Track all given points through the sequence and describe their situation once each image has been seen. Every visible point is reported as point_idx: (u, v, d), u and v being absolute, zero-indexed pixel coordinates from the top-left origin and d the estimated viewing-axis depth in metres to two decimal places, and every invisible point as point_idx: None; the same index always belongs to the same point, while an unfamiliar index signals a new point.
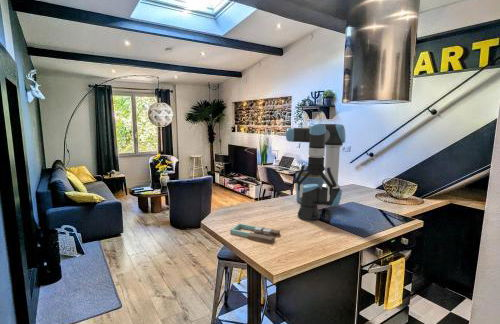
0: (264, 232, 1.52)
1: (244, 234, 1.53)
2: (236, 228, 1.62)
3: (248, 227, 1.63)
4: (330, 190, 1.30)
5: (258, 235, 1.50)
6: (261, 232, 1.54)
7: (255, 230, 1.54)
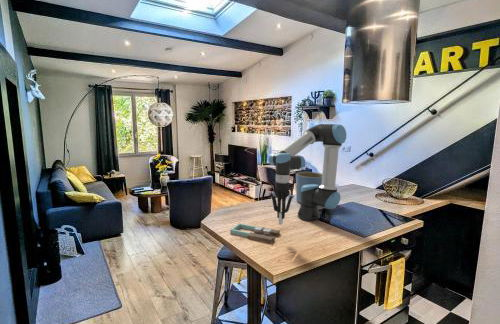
0: (264, 232, 1.52)
1: (244, 234, 1.53)
2: (236, 228, 1.62)
3: (248, 227, 1.63)
4: (282, 215, 1.47)
5: (258, 235, 1.50)
6: (261, 232, 1.54)
7: (255, 230, 1.54)
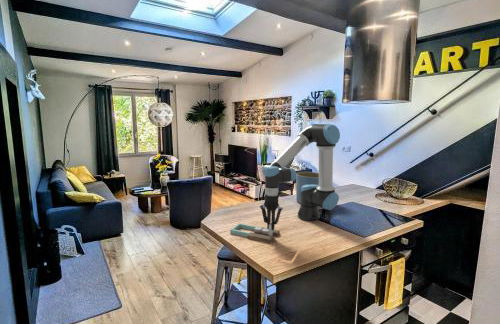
0: (263, 232, 1.52)
1: (244, 234, 1.53)
2: (236, 228, 1.62)
3: (248, 227, 1.63)
4: (272, 226, 1.50)
5: (258, 235, 1.50)
6: (261, 232, 1.54)
7: (255, 230, 1.54)
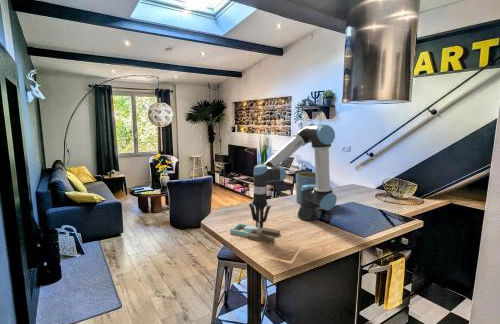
0: (252, 230, 1.55)
1: (244, 234, 1.53)
2: (236, 228, 1.62)
3: None
4: (261, 224, 1.53)
5: (258, 235, 1.50)
6: None
7: (245, 229, 1.56)
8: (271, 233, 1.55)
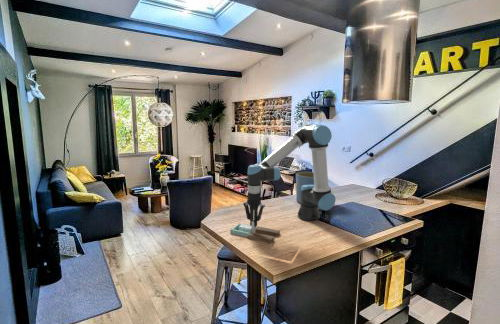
0: (246, 229, 1.56)
1: (244, 234, 1.53)
2: (236, 228, 1.62)
3: None
4: (255, 223, 1.55)
5: (258, 235, 1.50)
6: None
7: (240, 228, 1.58)
8: (271, 233, 1.55)
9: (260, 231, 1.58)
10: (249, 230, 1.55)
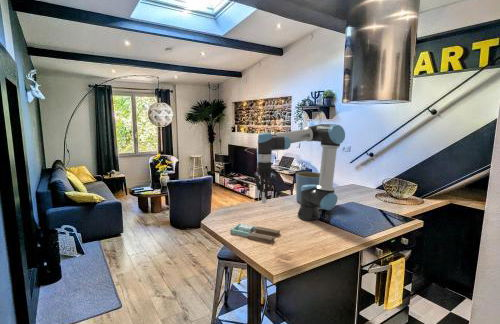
0: (245, 229, 1.56)
1: (244, 234, 1.53)
2: (236, 228, 1.62)
3: None
4: (265, 194, 1.50)
5: (258, 235, 1.50)
6: None
7: (239, 228, 1.58)
8: (271, 233, 1.55)
9: (260, 231, 1.58)
10: (249, 230, 1.56)
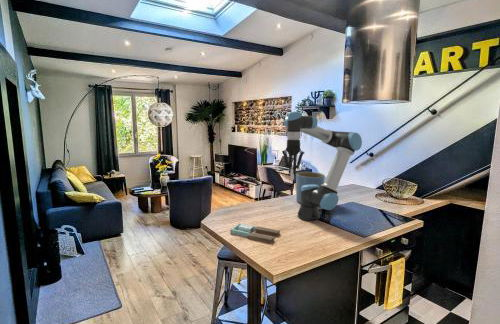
0: (245, 229, 1.56)
1: (244, 234, 1.53)
2: (236, 228, 1.62)
3: None
4: (294, 170, 1.56)
5: (258, 235, 1.50)
6: None
7: (239, 228, 1.58)
8: (271, 233, 1.55)
9: (260, 231, 1.58)
10: (249, 230, 1.56)
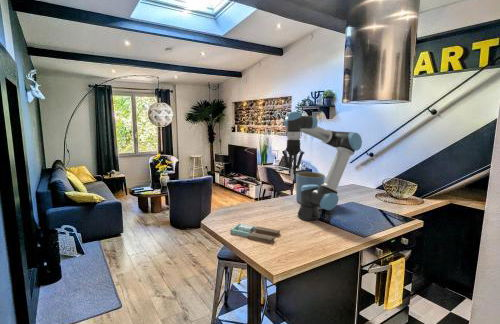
0: (245, 229, 1.56)
1: (244, 234, 1.53)
2: (236, 228, 1.62)
3: None
4: (294, 170, 1.56)
5: (258, 235, 1.50)
6: None
7: (239, 228, 1.58)
8: (271, 233, 1.55)
9: (260, 231, 1.58)
10: (249, 230, 1.56)
